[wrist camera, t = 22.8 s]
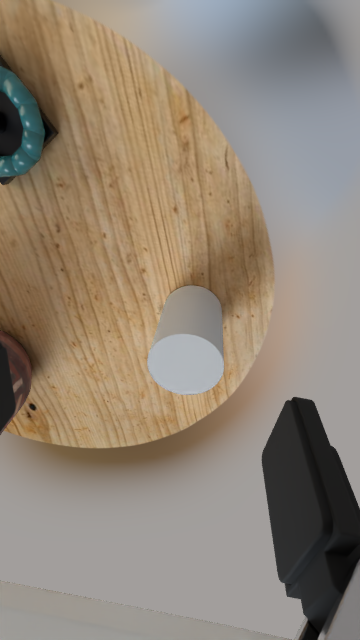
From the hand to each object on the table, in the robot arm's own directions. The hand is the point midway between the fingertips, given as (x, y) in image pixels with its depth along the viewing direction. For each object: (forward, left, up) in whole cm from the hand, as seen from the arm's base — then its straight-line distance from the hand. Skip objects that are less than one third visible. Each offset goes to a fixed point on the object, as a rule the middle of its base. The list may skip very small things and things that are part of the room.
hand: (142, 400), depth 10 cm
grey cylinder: (+8, +11, -31) cm, 33 cm away
